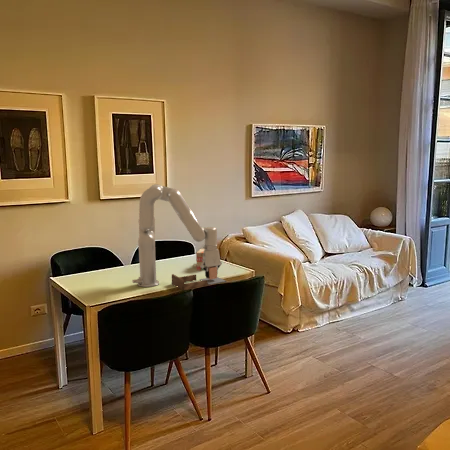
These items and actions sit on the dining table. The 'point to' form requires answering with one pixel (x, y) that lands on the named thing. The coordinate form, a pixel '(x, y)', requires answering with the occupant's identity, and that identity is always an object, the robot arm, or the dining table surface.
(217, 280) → the slate mat
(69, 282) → the dining table surface
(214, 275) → the terracotta block
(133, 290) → the dining table surface
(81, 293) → the dining table surface
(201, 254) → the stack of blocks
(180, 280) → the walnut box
